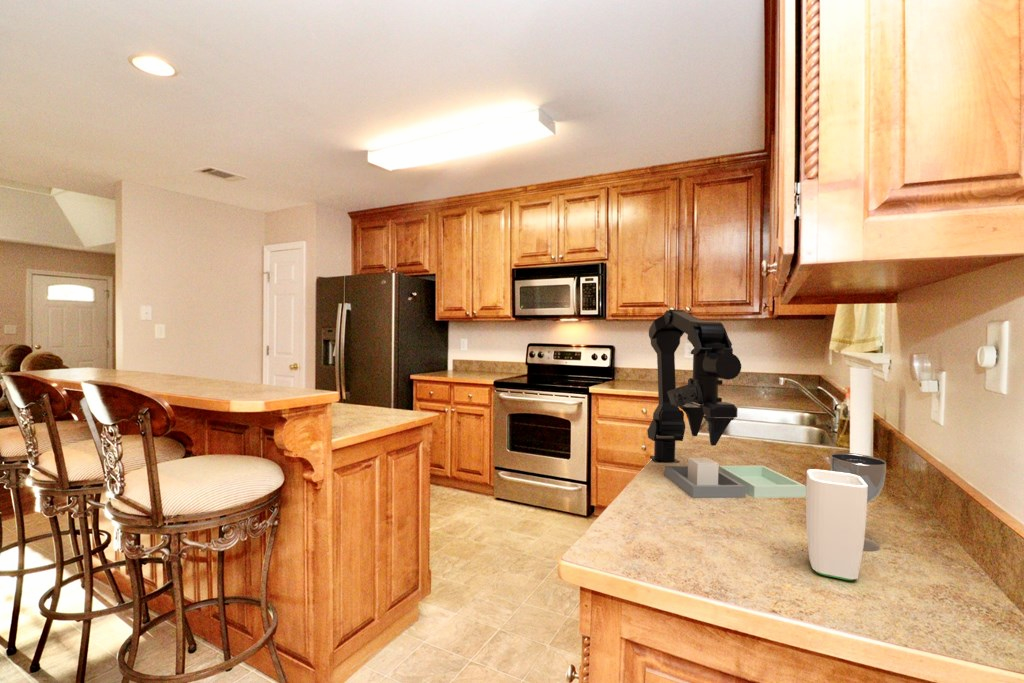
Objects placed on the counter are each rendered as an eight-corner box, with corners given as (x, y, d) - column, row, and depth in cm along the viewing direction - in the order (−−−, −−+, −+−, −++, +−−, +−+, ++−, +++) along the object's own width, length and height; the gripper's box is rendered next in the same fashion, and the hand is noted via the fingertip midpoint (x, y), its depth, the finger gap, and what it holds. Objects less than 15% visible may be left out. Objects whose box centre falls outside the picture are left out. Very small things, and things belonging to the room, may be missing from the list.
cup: (802, 556, 79) (805, 467, 78) (855, 566, 76) (859, 474, 75) (808, 576, 72) (811, 479, 72) (866, 589, 69) (870, 487, 69)
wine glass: (877, 556, 79) (880, 467, 79) (822, 540, 85) (825, 457, 85) (887, 543, 84) (890, 459, 84) (834, 528, 90) (837, 450, 90)
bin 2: (717, 477, 121) (718, 465, 121) (762, 477, 122) (763, 465, 122) (754, 499, 105) (754, 486, 105) (805, 499, 106) (806, 486, 106)
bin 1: (664, 477, 120) (664, 465, 120) (710, 477, 121) (710, 465, 121) (692, 500, 104) (693, 486, 104) (745, 499, 105) (745, 486, 105)
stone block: (687, 482, 115) (688, 457, 115) (707, 482, 115) (708, 457, 115) (696, 489, 110) (697, 463, 110) (717, 489, 110) (718, 463, 110)
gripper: (657, 370, 121) (655, 431, 121) (690, 379, 102) (687, 451, 103) (699, 371, 121) (697, 431, 122) (739, 379, 103) (737, 450, 103)
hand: (703, 440), depth 112 cm, fingers open, 9 cm apart
